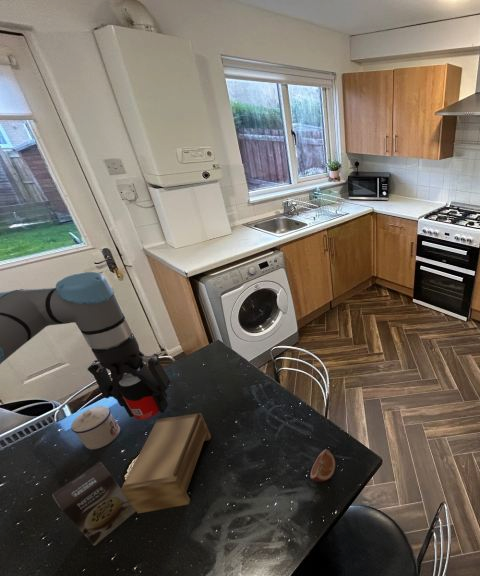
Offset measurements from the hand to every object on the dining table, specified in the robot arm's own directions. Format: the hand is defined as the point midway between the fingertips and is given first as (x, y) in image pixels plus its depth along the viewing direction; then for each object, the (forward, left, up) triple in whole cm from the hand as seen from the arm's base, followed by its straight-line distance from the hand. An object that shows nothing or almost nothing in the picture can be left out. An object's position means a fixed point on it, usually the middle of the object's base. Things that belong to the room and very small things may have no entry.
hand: (149, 410), depth 80 cm
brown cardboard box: (-10, -13, -23) cm, 28 cm away
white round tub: (-27, +14, -23) cm, 38 cm away
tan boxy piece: (+1, -3, -23) cm, 23 cm away
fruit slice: (+42, -11, -23) cm, 49 cm away
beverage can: (0, 0, -1) cm, 1 cm away
